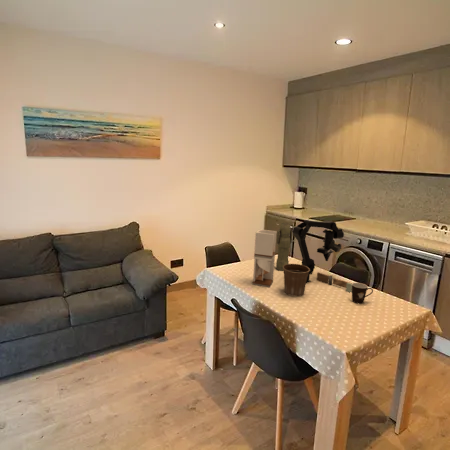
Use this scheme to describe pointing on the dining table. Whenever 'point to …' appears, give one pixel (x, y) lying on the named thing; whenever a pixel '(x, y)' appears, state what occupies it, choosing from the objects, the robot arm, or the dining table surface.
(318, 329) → the dining table surface
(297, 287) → the plant pot
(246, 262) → the dining table surface
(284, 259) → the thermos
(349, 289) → the latch stile
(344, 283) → the gate
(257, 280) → the grey dispenser tower
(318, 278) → the hinge post
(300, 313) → the dining table surface
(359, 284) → the coffee mug
